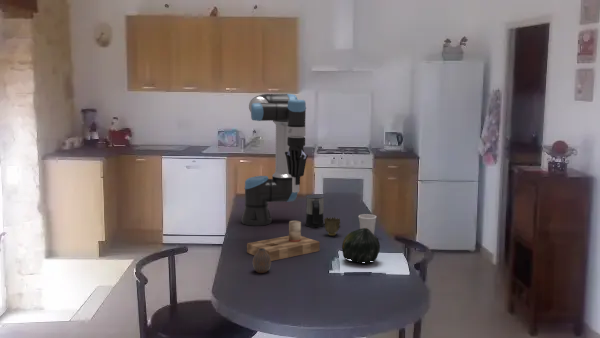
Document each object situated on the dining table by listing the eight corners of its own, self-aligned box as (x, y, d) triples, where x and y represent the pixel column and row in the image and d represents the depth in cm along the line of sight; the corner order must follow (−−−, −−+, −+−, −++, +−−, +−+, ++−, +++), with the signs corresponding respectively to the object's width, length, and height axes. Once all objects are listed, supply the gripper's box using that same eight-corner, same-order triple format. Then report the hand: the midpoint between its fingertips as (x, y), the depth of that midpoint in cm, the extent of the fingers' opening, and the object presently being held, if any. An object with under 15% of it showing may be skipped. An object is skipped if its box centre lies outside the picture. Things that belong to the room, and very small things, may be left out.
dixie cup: (363, 234, 296) (364, 213, 294) (379, 236, 291) (379, 215, 289) (354, 237, 289) (355, 216, 287) (370, 240, 284) (371, 218, 283)
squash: (341, 241, 260) (343, 220, 248) (377, 243, 259) (381, 222, 248) (340, 271, 250) (343, 251, 239) (378, 273, 250) (382, 253, 239)
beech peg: (286, 248, 268) (286, 221, 266) (295, 246, 271) (296, 220, 269) (293, 250, 264) (293, 223, 262) (303, 248, 267) (303, 222, 265)
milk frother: (302, 224, 316) (302, 195, 314) (331, 221, 322) (331, 193, 319) (313, 230, 303) (314, 200, 300) (343, 227, 308) (343, 198, 306)
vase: (252, 268, 239) (252, 246, 238) (270, 268, 240) (270, 246, 239) (252, 274, 233) (252, 251, 231) (271, 274, 233) (271, 251, 232)
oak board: (247, 252, 262) (247, 243, 261) (296, 243, 278) (296, 234, 277) (269, 261, 250) (269, 251, 249) (319, 250, 266) (319, 241, 265)
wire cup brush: (338, 237, 288) (339, 220, 287) (322, 237, 289) (323, 220, 288) (340, 234, 295) (341, 217, 294) (325, 233, 297) (325, 216, 296)
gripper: (279, 135, 266) (279, 190, 269) (298, 138, 256) (298, 195, 259) (293, 134, 270) (293, 188, 274) (313, 137, 260) (312, 193, 264)
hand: (295, 191), depth 267 cm, fingers closed
